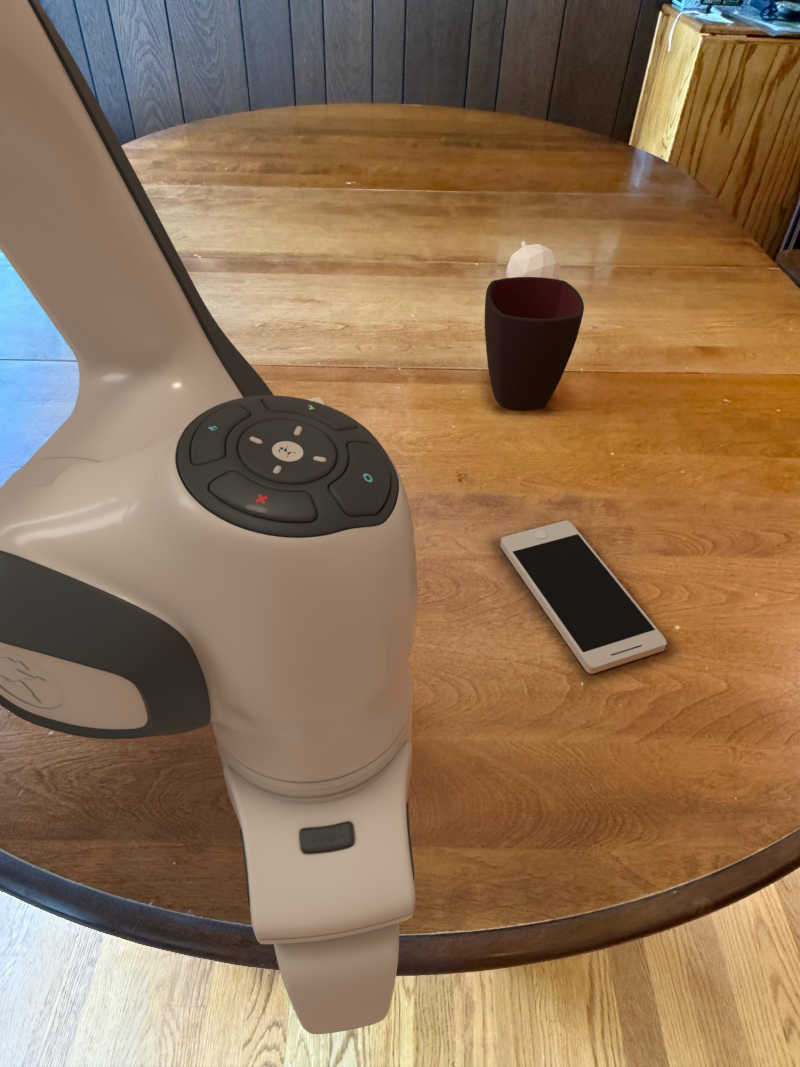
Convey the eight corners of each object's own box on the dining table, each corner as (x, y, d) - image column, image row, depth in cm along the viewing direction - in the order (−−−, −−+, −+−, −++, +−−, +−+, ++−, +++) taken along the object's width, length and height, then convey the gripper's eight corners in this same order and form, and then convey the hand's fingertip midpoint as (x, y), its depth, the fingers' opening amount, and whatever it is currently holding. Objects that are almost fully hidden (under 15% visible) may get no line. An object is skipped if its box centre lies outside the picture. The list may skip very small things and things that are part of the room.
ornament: (509, 310, 103) (490, 250, 101) (523, 307, 109) (506, 251, 108) (559, 291, 99) (541, 229, 98) (571, 289, 106) (554, 231, 104)
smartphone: (567, 526, 72) (569, 518, 71) (666, 650, 61) (670, 642, 60) (498, 544, 70) (499, 536, 69) (588, 675, 59) (590, 668, 58)
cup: (481, 422, 84) (492, 320, 76) (468, 357, 94) (476, 260, 86) (572, 421, 84) (593, 320, 76) (549, 356, 94) (565, 260, 86)
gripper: (242, 574, 43) (267, 717, 52) (252, 978, 28) (285, 1076, 37) (355, 562, 43) (360, 705, 53) (424, 948, 29) (414, 1051, 38)
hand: (329, 861), depth 45 cm, fingers closed
